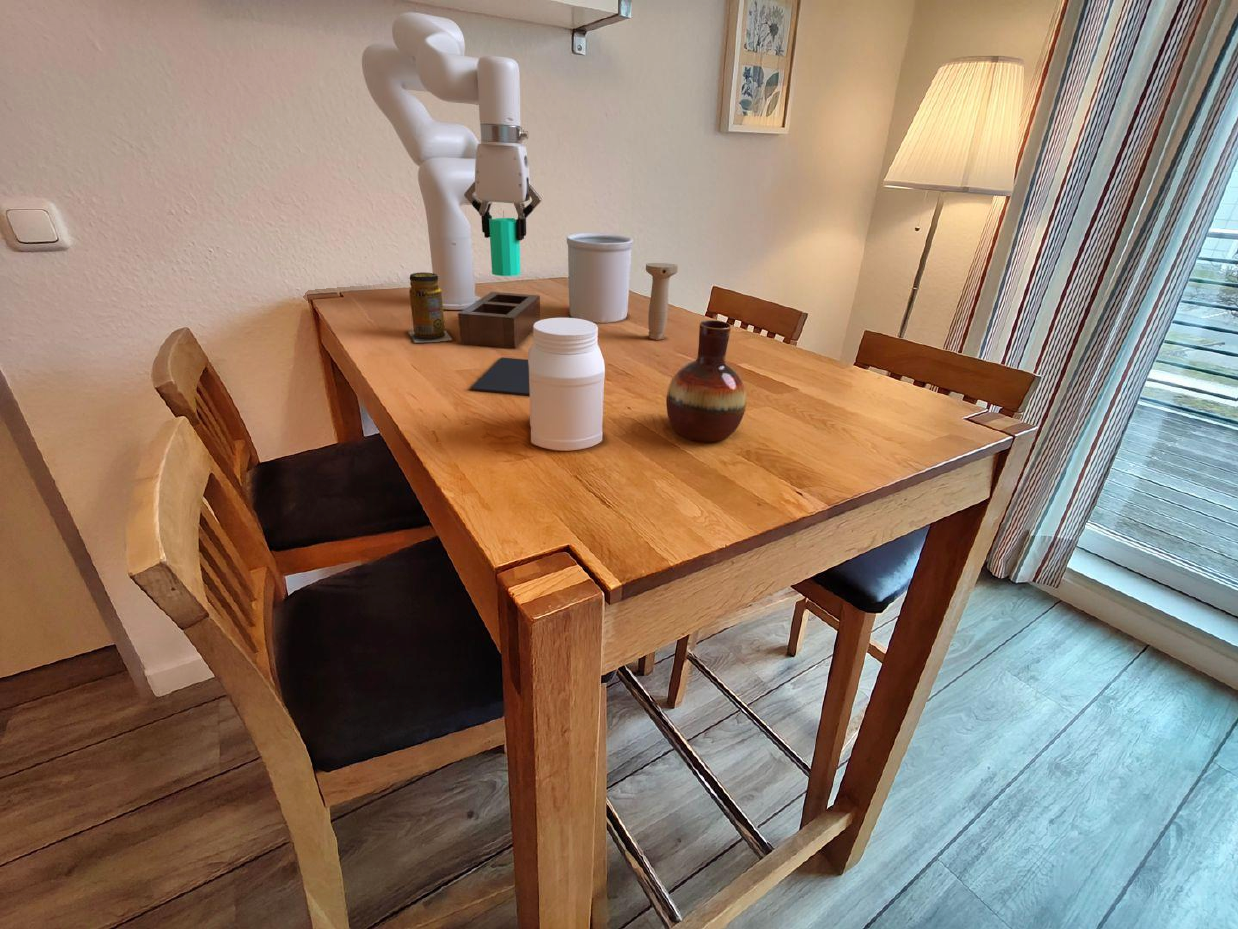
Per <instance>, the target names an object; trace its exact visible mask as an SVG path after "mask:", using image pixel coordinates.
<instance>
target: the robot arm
mask: <svg viewBox="0 0 1238 929" xmlns="http://www.w3.org/2000/svg"><path fill="white" fill-rule="evenodd" d="M391 36H392V40H393V42H385V41H384V42H373V43H371V44H370V45H368V46H367V47H365V49H364V50H363V51H362V54H361V55H362V56H361V67H362V69H361V70H362V74H363V78H364V82H365V84H366V87H367V90H368V92H369V94H370V97H371V98H372V100H373V101H374V103H375V105H376V106H377V107H378V109H379V110H380V111H381V113H382V114H383V115H384V116H385V117H386V118H387V120H388V121H389V123H390V124H391V126H392V127H393V129H394V131H395V133H396V135H397V136H398V139H399V140H400V142H401V143H402V145H403V148H404V149H405V151H406V152H407V154H408V156H409V158H410V159H411V160H412V161H413V163H414V164H415V165H416V166H417V167H419V168H418V169H417V170H418V171H417V181H418V187H419V189H420V193H421V197H422V201H423V206H424V210H425V215H426V217H425V218H426V223H427V232H428V241H429V251H430V261H431V270H432V272H431V273H434V274H436V275H437V276H438V283H439V288H440V289H441V293H442V304H443V310H446V311H447V310H448V311H463V310H464V309H466V308H467V307H469V306H470V305H472V304H473V303H475V302H476V301H478V300H480V299H481V298H482V297H480V296H479V295H476V282H475V269H474V268H475V266H474V253H473V238H472V229H471V228H472V227H471V224H470V222H469V220H468V217H467V216H465V214H464V212H463V211H462V210H461V207H460V206H472V207H473V208H474V209H475V210H476V212H477V213H478V215H479V216H480V217H481V218H480V219H481V232H482V234H483V233H484V238H485V239H490V229H489V218H491V219H493V216H492V215H491V213H490V211H491V209H492V205H493V203H501V204H503V203H504V204H513V206H514V208H515V211H516V213H517V219H516V236H517V240H519V242H521V241H522V240H524V239H525V237H526V236H527V218H529V216H530V215H531V214H532V212H534V210H535V209H536V208H537V207H538V206H539V205H540V204H541V203H542V201H543V199H542V197H541V196H540V194H539V193H538V192H537V191H536V190H535V188H534V187H533V186H532V185H531V174H530V165H529V164H530V163H529V158H528V152H527V147H526V146H522V143H523V142H524V141H525V140H529V131H526V130H523V127H522V126H521V125H522V124H521V122H522V120H521V74H520V65H519V63H518V62H517V61H516V60H515V59H513V58H511V57H507V56H499V55H484V56H480V57H475V56H469V55H465V52H466V42H465V37H464V34H463V32H462V30H461V28H460V26H458V24H457V23H456V22H455V21H453V20H452V19H450V18H447V17H441V16H438V15H437V16H436V15H431V14H427V13H421V12H415V11H408V12H403V13H400V14H399V15H398V16H397V17H396V18H395V19H394V21H393V23H392V27H391ZM409 91H415V92H416V91H417V92H424V93H426V92H427V93H430V94H431V95H433V96H434V97H435V98H437V99H439V100H441V101H443V102H448V103H454V104H455V103H456V104H468V105H475V106H478V112H479V113H478V115H479V116H478V117H479V118H478V119H479V135H480V142H479V140H478V138H477V137H476V135H475V134H474V132H473V131H472V130H471V129H470V128H468V126H466V125H463V124H461V123H454V122H445V121H444V122H442V121H438V120H434V118H432V117H431V115H430V114H429V112H428V110H427V108H426V107H425V106H424V104H423V103H422V102H421V101H420V100H419V99H418V98H417V97H416V96H414V95H413V94H412V93H410V92H409ZM530 200H531V201H530ZM528 201H530V202H529V203H528V204H527V205H525V203H526V202H528Z"/></svg>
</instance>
